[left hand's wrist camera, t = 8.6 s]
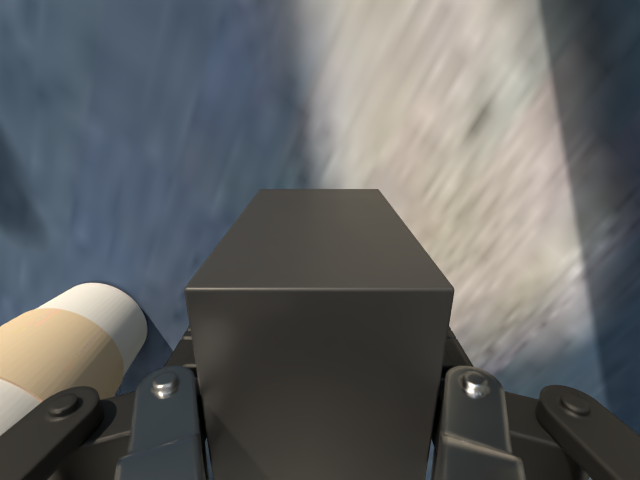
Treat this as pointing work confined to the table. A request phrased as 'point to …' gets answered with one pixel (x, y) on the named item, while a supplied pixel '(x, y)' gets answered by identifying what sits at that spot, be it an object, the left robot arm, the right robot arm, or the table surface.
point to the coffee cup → (68, 348)
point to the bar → (319, 340)
